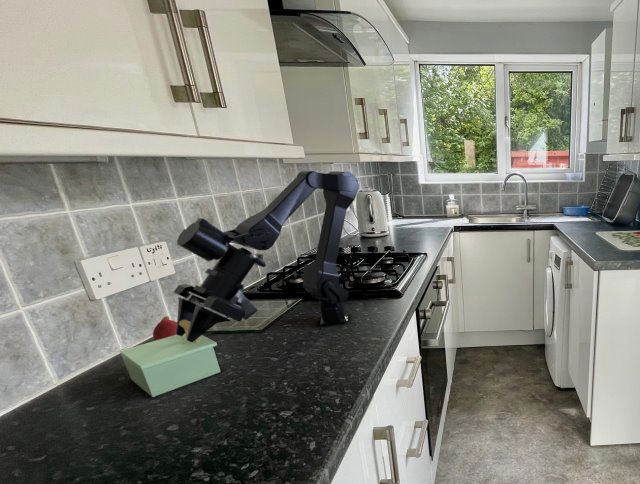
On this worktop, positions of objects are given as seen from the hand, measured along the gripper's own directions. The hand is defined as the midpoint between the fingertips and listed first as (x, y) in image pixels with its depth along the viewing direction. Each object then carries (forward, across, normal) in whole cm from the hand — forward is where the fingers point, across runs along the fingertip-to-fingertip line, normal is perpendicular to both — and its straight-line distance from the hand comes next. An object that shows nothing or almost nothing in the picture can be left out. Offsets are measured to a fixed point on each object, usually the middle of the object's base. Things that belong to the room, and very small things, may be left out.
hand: (184, 338), depth 82 cm
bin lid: (+3, 0, +1) cm, 3 cm away
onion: (+4, +15, -6) cm, 17 cm away
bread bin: (+7, 0, -3) cm, 8 cm away
